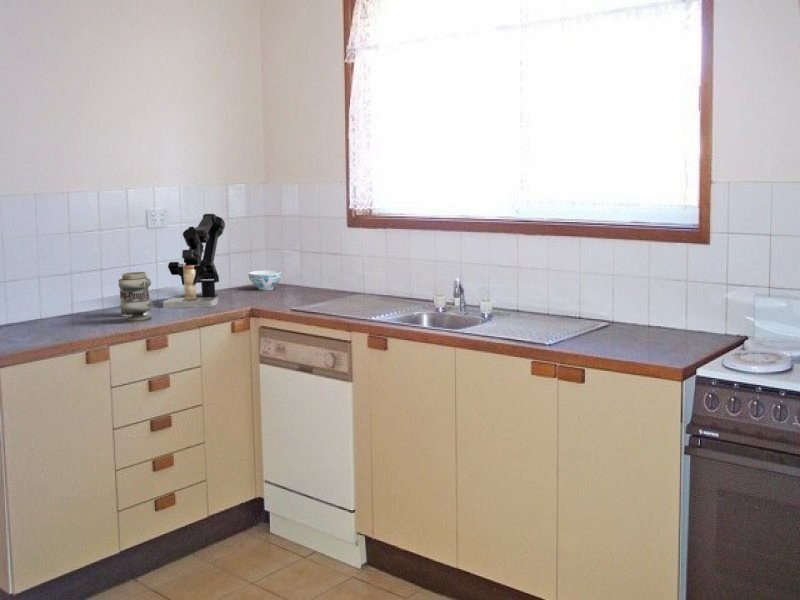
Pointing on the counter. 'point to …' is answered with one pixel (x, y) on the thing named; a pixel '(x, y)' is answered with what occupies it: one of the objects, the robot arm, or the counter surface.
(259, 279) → the chinaware
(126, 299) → the apothecary jar
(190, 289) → the peg
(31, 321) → the counter surface
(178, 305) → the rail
